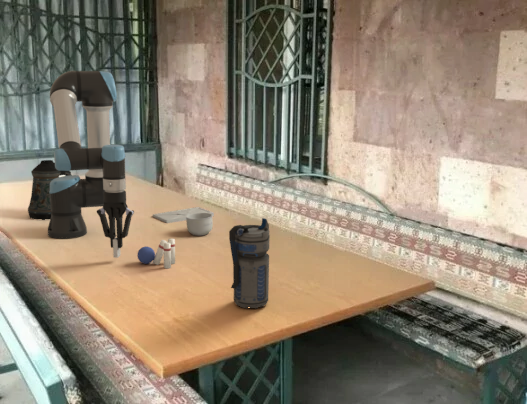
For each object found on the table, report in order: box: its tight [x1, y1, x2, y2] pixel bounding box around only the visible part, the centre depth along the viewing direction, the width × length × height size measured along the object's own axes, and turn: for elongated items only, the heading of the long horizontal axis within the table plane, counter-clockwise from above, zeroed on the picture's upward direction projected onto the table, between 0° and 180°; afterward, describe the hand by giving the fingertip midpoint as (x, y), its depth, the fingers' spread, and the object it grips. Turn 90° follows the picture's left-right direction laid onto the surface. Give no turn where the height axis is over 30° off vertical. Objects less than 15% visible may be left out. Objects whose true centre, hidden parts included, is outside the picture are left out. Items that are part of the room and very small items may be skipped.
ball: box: [136, 246, 156, 265], centre depth 214 cm, size 6×6×6 cm
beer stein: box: [27, 159, 72, 221], centre depth 277 cm, size 16×19×25 cm
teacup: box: [185, 212, 214, 237], centre depth 253 cm, size 14×11×8 cm
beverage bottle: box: [228, 217, 271, 309], centre depth 176 cm, size 10×13×25 cm
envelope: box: [152, 206, 215, 224], centre depth 281 cm, size 24×2×14 cm
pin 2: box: [167, 238, 176, 265], centre depth 214 cm, size 2×2×8 cm
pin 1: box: [163, 243, 172, 269], centre depth 209 cm, size 2×2×8 cm
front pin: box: [152, 239, 168, 266], centre depth 212 cm, size 2×2×8 cm
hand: (117, 256), depth 215 cm, fingers closed
